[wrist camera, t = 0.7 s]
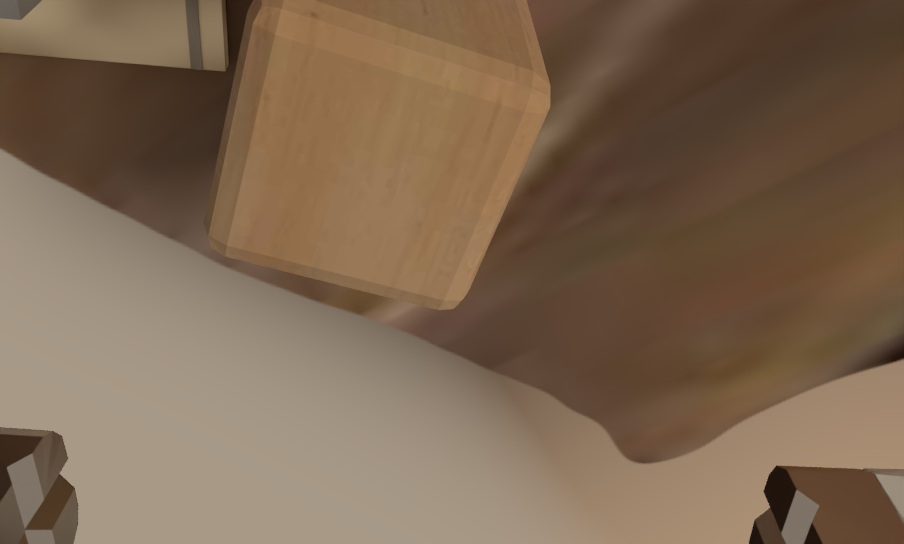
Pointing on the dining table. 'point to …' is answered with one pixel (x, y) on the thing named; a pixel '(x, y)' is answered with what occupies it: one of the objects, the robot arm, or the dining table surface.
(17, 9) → the grey rectangular block
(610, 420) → the dining table surface
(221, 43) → the plywood panel
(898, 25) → the dining table surface
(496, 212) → the wooden block
